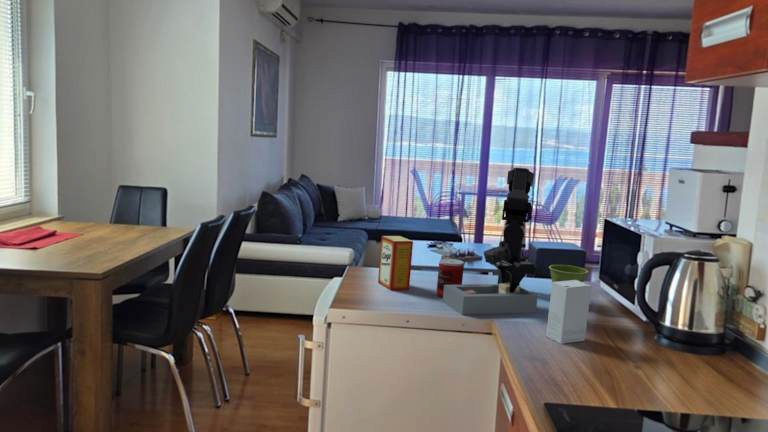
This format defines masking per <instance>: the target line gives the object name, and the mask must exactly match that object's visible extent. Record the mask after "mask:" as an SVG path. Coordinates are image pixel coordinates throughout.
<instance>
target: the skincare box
mask: <svg viewBox="0 0 768 432" xmlns="http://www.w3.org/2000/svg"><path fill="white" fill-rule="evenodd" d="M591 292H592V285H590V284H587V283H585V282H584V281H583V282H580V281H578V280H569V281H559V282H552V281H551V289H550V298H549V299H550V300H549V306H548V307H549V308H548V317H547V326H546V335H545V336H546V337H547V338H549V339H550V340H552V341H554V340H555V341H554V342H556V341H557V342H556V343H558V344H561V345H562V344H563V345H565V344H570V343H577V342H585V341H586V335H587V334H586V332H587V325H588V324H587V323H588V316H589V308H590V302H591V300H590V299H591Z"/></svg>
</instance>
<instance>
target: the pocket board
mask: <svg viewBox="0 0 768 432" xmlns="http://www.w3.org/2000/svg"><path fill="white" fill-rule="evenodd" d="M468 290H473V291H475V292H476V294H467V293H465V292H463V291H468ZM519 291H520V292H521V294H517V295H508V294H497V292H499V284H497V283H496V284H493V283H492V284H489V283H488V284H487V283H485V284H477V283H476V284H474V283H473V284H462V285H444V292H443V298H442V303H444V304H445V305H447V306H448V307H450V308H451V309H453V310H454V311H455V312H457V313H458V314H460V315H499V314H503V315H504V314H505V315H506V314H534V313H537V305H538V297H539V295H538V294H535V293H533V292H532V291H529V290H528V289H525V288H523V287H521V286H519Z"/></svg>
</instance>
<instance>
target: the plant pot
mask: <svg viewBox="0 0 768 432" xmlns="http://www.w3.org/2000/svg"><path fill="white" fill-rule="evenodd" d="M548 269H549V270H550V277H551V283H552V282H559V281H569V280H578V281H580V282H583V283H584V281H585V279H586V275H587V274H588V273H589V270H588V269H585V268H583V267H579V266H575V265H569V264H551V265H549V266H548Z"/></svg>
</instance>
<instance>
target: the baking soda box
mask: <svg viewBox="0 0 768 432" xmlns="http://www.w3.org/2000/svg"><path fill="white" fill-rule="evenodd" d="M380 242H381V243H380V253H379V254H380V255H379V265H378V266H379V267H378V268H379V269H378V279H377V280H378V281H377V283H378V284H379V285H380V286H382V287H384V288H386V289H387V290H389V291H409V290H410V285H411V284H410V281H411V269H412V260H413V259H412V258H413V247H414V241H413V240H411V239H408V238H406V237H403V236H401V235H382V236H381V241H380Z"/></svg>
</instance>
